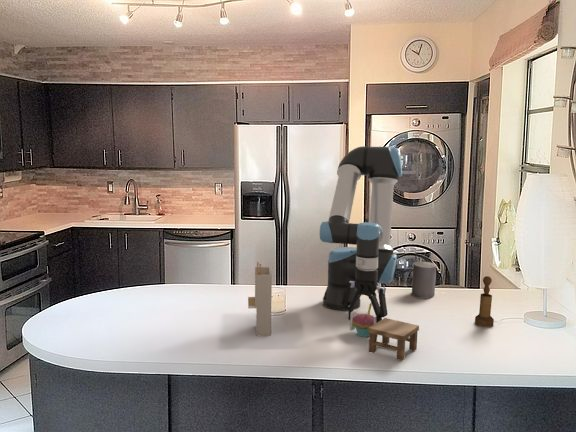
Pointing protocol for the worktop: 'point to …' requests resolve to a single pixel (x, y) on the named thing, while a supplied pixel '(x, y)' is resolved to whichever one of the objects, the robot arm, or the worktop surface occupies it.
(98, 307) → the worktop surface
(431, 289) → the pillar candle
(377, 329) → the walnut stool
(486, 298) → the brown chess pawn
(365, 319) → the cupcake
